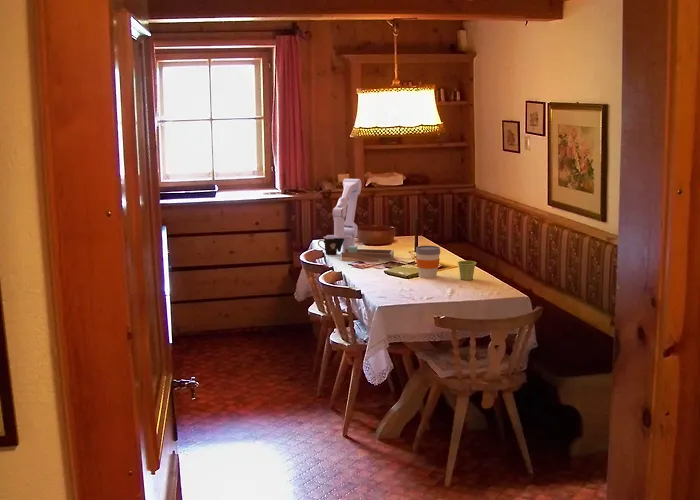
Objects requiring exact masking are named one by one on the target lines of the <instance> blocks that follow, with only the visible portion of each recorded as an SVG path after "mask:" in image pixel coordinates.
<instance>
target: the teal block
mask: <svg viewBox="0 0 700 500" xmlns="http://www.w3.org/2000/svg"><path fill="white" fill-rule="evenodd" d="M357 249H358V245H355V246H349V247H348V252H351V253H357Z"/></svg>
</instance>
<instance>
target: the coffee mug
mask: <svg viewBox="0 0 700 500" xmlns="http://www.w3.org/2000/svg"><path fill="white" fill-rule="evenodd" d="M320 242H322V243H324V247H322V246H321V245H320ZM317 244H318V246H319V247H320V248H321V249H323V250H324V251H325V255H326V256H335V255H337V253H338V250H337V246H336V244H335V242H334V239H327V235H326V236H323V239H319V241H318V242H317Z"/></svg>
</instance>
